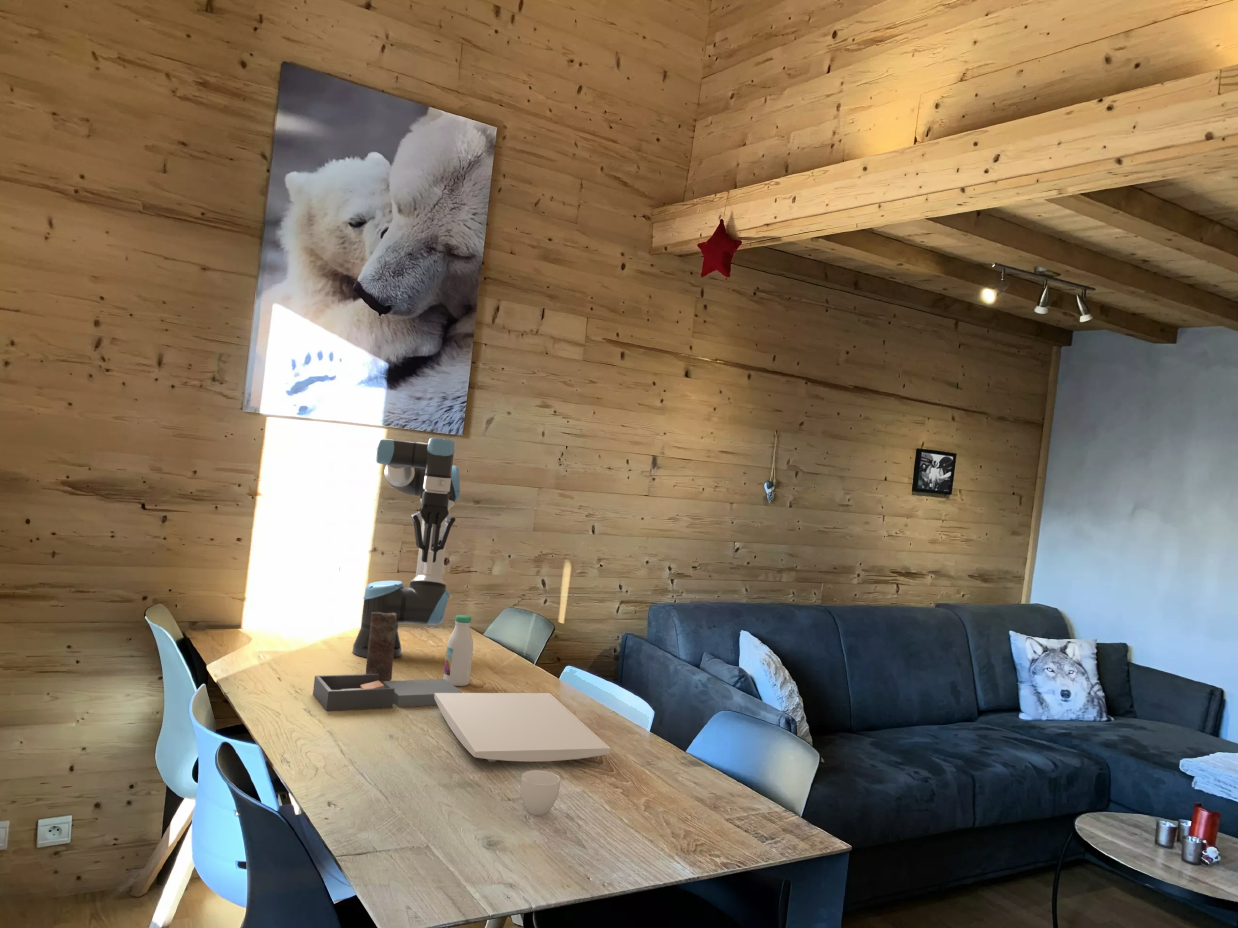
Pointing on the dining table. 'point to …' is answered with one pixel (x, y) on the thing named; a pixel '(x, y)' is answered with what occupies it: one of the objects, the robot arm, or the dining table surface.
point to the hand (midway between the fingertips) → (427, 573)
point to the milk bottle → (459, 653)
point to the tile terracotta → (372, 685)
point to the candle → (381, 645)
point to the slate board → (419, 691)
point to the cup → (539, 791)
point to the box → (351, 692)
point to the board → (518, 727)
